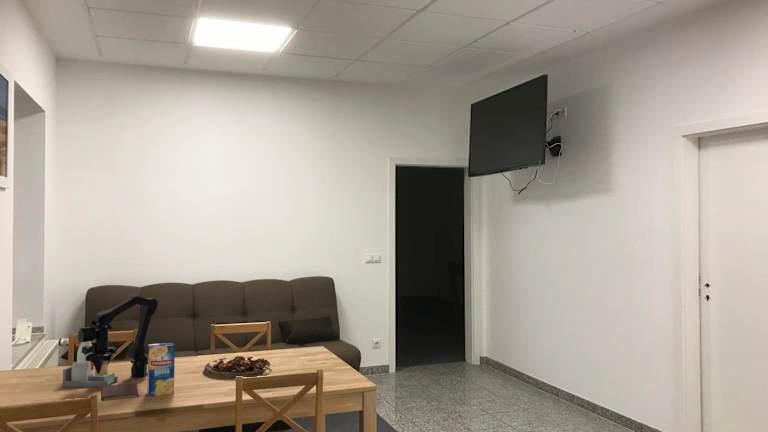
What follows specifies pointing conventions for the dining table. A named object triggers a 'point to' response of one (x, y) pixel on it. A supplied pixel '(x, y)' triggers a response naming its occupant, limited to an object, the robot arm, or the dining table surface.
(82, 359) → the milk bottle
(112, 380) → the bar
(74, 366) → the grey angular block
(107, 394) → the notebook
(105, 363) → the jar
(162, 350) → the blue yellow food box
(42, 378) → the dining table surface
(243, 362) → the food dish
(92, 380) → the lane
